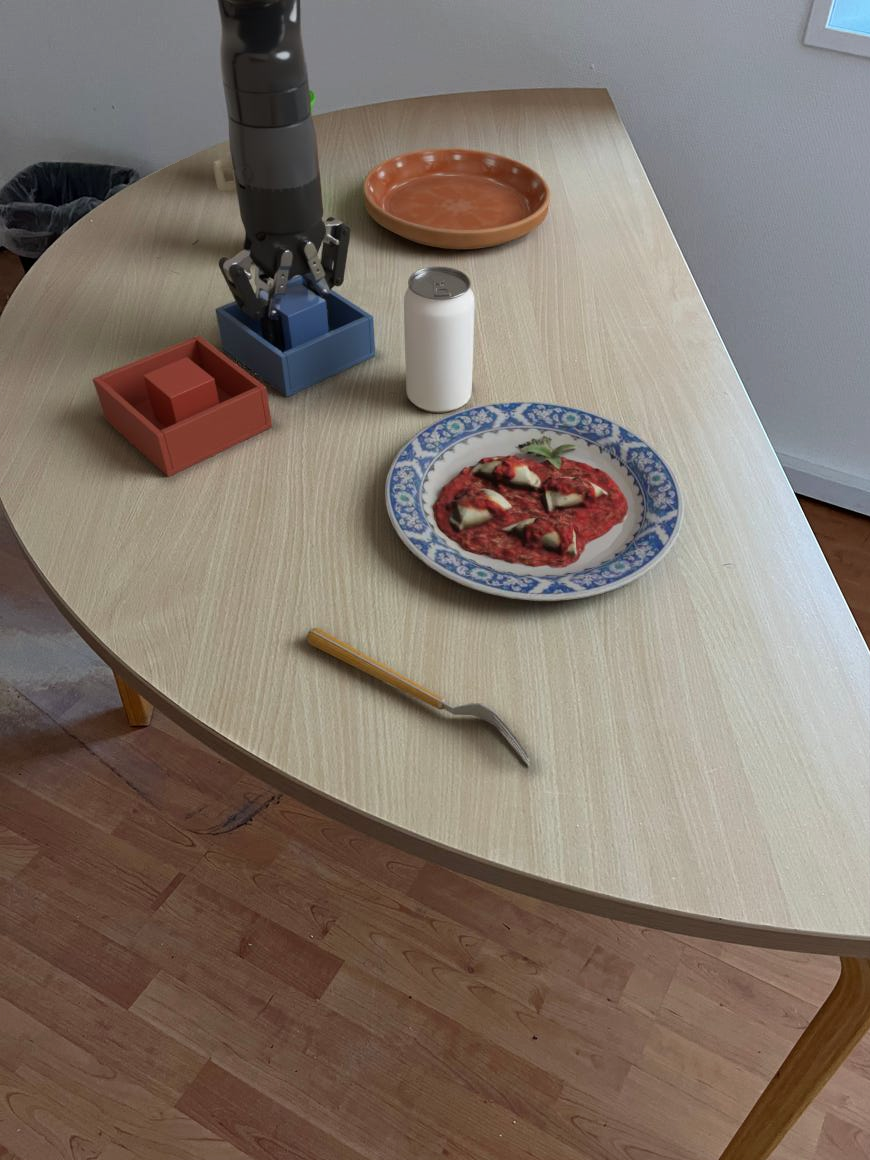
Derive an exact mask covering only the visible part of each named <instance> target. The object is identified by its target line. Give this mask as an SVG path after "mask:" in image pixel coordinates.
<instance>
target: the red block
mask: <svg viewBox="0 0 870 1160" xmlns="http://www.w3.org/2000/svg"><path fill="white" fill-rule="evenodd" d="M143 376H144V380H145V384H146V388H147V391H148V395H149V399H150V403H151V406H152V410H153V414H154V417H155V418H156V419H157V420H158V421H160V422H161V423H162V424H163V425H164V426H165V427H169V426H171V425H173V424H176V423H178V422H180V421H182V420H185V419H187V418H189V417H191V416H193V415H196V414H198V413H200V412H202V411H204V410H207V409H209V408H211V407H213V406H215V405H218V404H219V400H218V395H217V390H216V385H215V380H214V378H213V377H211V376H210V375H209V374H208V373H206V372H205V371H204V370H203V369H201V368H200V367H199V366H198V365H196V364H195V363H194V362H192V361H191V360H190V359H189V358H187V357H186V358H183V359H181V360H179V361H176V362H174V363H172V364H169V365H167V366H164V367H162V368H160V369H157V370H155V371H152V372H150V373H148V374H145V375H143Z"/></svg>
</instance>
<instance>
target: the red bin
mask: <svg viewBox="0 0 870 1160" xmlns="http://www.w3.org/2000/svg"><path fill="white" fill-rule="evenodd" d="M186 357H187V358H189V359H190V360H191V361H192V362H194V363H195V364H196V365H198V366H199V367H200V368H201V369H203V370H204V371H205V372H206V373H208V374H209V375H210V376H211V377H213V378H214V380H215V385H216V390H217V395H218V400H219V404H218V405H215V406H213V407H211V408H209V409H207V410H204V411H202V412H200V413H198V414H196V415H193V416H191V417H189V418H187V419H185V420H182V421H180V422H178V423H176V424H173V425H171V426H169V427H165V426H164V425H163V424H162V423H161V422H160V421H158V420H157V419H156V418H155V417H154V414H153V410H152V406H151V403H150V399H149V395H148V391H147V388H146V384H145V380H144V376H143V375H145V374H148V373H150V372H152V371H155V370H157V369H160V368H162V367H164V366H167V365H169V364H172V363H174V362H176V361H179V360H181V359H183V358H186ZM92 381H93V385H94V388H95V392H96V394H97V398H98V401H99V404H100V407H101V410H102V414H103V416H104V417H103V418H104V419H105V421H106V422H107V423H109V424H110V426H112V427H113V428H114V429H115V430H116V431H118V432H119V434H121V435H122V436H123V437H124V438H125V439H126V440H127V441H128V442H129V443H131V444H132V445H133V446H134V447H135V448H136V449H137V450H138V451H139V452H140V453H141V454H142V455H144V456H145V457H146V458H147V459H148V460H149V461H150V462H151V463H153V465H155V466H156V467H157V468H158V469H159V470H160V471H161V472H163V474H164V475H166V476H167V477H168V478H170V477H173V476H174V475H175V474H178V473H180V472H182V471H185V470H186V469H188V468H191V467H193V466H194V465H197V464H199V463H201V462H203V461H206V460H207V459H209V458H211V457H213V456H215V455H217V454H220V453H222V452H223V451H226V450H228V449H230V448H232V447H234V446H236V445H239V444H240V443H242V442H245V441H246V440H248V439H250V438H253V437H255V436H257V435H259V434H262V433H263V432H265V431H267V430H269V429H271V428H273V423H272V417H271V411H270V404H269V398H268V391H267V387H266V385H264V384H263V383H261V382H260V381H259V380H258V379H256V378H255V377H254V376H253V375H251V374H250V373H249V372H247V371H246V370H245V369H243V368H242V367H241V366H239V365H238V364H237V363H235V362H234V361H233V360H231V359H230V358H229V357H227V355H225V354H224V353H222V352H221V351H220V350H218V349H217V348H216V347H215V346H213V345H212V344H210V343H209V342H208V341H207V340H205V339H204V338H203V337H201V336H200V335H195V336H193V337H190V338H188V339H186V340H183V341H181V342H178V343H176V344H174V345H171V346H169V347H166V348H163V349H161V350H159V351H157V352H155V353H152V354H149V355H147V356H145V357H141V358H140V359H137V360H134V361H132V362H130V363H127V364H125V365H122V366H120V367H117V368H115V369H112V370H110V371H108V372H106V373H105V372H104V373H103V374H100V375H98V376H95V377H93V378H92Z"/></svg>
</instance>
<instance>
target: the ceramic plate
mask: <svg viewBox="0 0 870 1160" xmlns="http://www.w3.org/2000/svg"><path fill="white" fill-rule="evenodd" d="M384 487H385V488H384V497H385V499H384V500H385V506H386V511H387V514H388V517H389V519H390V522H391V525H392V527H393V529H394V531H395V532H396V534H397V536H398V538H400V539H401V541H402V542H403V544H404V545H405V546H406V548H408V550H410V551H411V553H412V554H413V555H414V556H415V557H416V558H418V559H419V560H420V561H422V562H423V563H424V564H425V565H426V566H427V567H429V568H431V569H432V570H434V571H436V572H437V573H439V574H440V575H442V576H443V577H445V578H447V579H449V580H452V581H453V582H455V583H458V584H460V585H462V586H464V587H467V588H469V589H472V590H476V591H479V592H482V593H485V594H490V595H494V596H499V597H502V598H508V599H513V600H522V601H523V600H525V601H535V602H556V601H570V600H578V599H584V598H589V597H593V596H597V595H601V594H604V593H608V592H611V591H614V590H616V589H618V588H621V587H623V586H625V585H628V584H630V583H632V582H633V581H635V580H638V579H639V578H641V577H642V576H644V575H646V574H647V573H649V572H650V571H651V570H652V569H653V568H655V566H657V565H658V564H660V562H661V561H662V560H663V559H664V558H665V557H666V556H667V554H669V552H670V550H671V549H672V548H673V546H674V544H675V543H676V541H677V539H678V537H679V536H680V535H679V534H680V532H681V529H682V526H683V521H684V516H685V503H684V502H685V501H684V494H683V490H682V487H681V484H680V482H679V480H678V477H677V475H676V473H675V472H674V469H673V468H672V466H671V465H670V463H669V462H668V461H667V459H666V458H664V457H663V455H662V454H661V453H660V451H658V449H656V448H655V447H654V446H653V445H652V444H651V443H650V442H649V441H648V440H646V439H645V438H643V437H642V436H640V435H639V434H637V433H636V432H634V431H633V430H632V429H630V428H628V427H626V426H624V425H622V424H621V423H619V422H617V421H615V420H613V419H610V418H608V417H605V416H603V415H600V414H598V413H595V412H591V411H589V410H586V409H583V408H579V407H573V406H568V405H563V404H557V403H553V402H552V403H551V402H542V401H529V400H528V401H507V402H504V401H503V402H495V403H494V402H493V403H488V404H483V405H479V406H474V407H470V408H467V409H466V408H465V409H463V410H460V411H457V412H454V413H451V414H449V415H446V416H444V417H442V418H440V419H437V420H436V421H434V422H432V423H431V424H429V425H427V426H426V427H424V428H423V429H421V430H420V431H419V432H418V433H416V434H415V435H414V436H412V437H411V438H410V439H409V440H408V441H407V442H406V443H405V445H403V446H402V447H401V448H400V450H399V451H398V452H397V454H396V456H395V457H394V459H393V461H392V463H391V465H390V467H389V470H388V472H387V476H386V480H385V485H384Z"/></svg>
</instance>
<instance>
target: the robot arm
mask: <svg viewBox="0 0 870 1160" xmlns="http://www.w3.org/2000/svg"><path fill="white" fill-rule="evenodd" d="M217 5H218V11H219V17H220V26H221V36H220V46H219V60H220V61H219V62H220V63H219V64H220V73H221V79H222V85H223V92H224V98H225V105H226V111H227V120H228V121H227V122H228V140H229V144H230V151H231V157H232V164H233V170H234V177H235V183H236V189H237V194H236V197H237V202H238V207H239V208H238V209H239V215H240V220H241V223H242V225H243V228H244V234H245V235H244V239H243V243H242V250H241V251H240V252H239V253H237V254H236V255H235V256H233V257H232V258H229V257H228V256H222V257H221V258H220V259H219V260H218V267H219V270H220V272H221V274H222V276H223V279H224V280H225V282H226V284H227V287H228V289H229V291H230V293H231V295H232V297H233V299H234V301H236V303H237V305H238V307H239V309H240V310H242V311H243V312H245V313H247V314H248V315H249V316H251V318H253V319H254V320H256V321H257V320H260V323H261V329H262V336H263V339H264V340H266V341H267V342H269V343H270V344H271V345H273V346H274V347H275V348H277V349H278V350H280V351H281V350H283V349H285V341H284V334H283V327H282V319H281V317H280V316H279V312H280V305H281V298H282V297H283V296H285V294H286V287H287V281H289V280H290V279H292V278H294V277H297V276H299V275H301V277H302V279H303V281H304V283H305V285H306V287H307V288H308V289H309V290H311V291H312V292H314V293H315V294H317V295H318V296H320V297H321V298H323V299H324V300H326V308H327V318H328V324H329V319H330V317H329V306H328V296H329V294H330V290H331V289H332V290H333V288H334V287H341V286H342V284H343V283H344V279H345V274H346V273H345V272H346V266H347V259H348V253H349V252H348V251H349V245H350V237H351V227H350V226H349V225H347V224H346V223H345V222H342V221H341V220H339V219H338V218H335V217H334V216H329V217H327V219H326V220H325V221H324V220H323V216H324V205H323V194H322V182H321V172H320V162H319V161H320V160H319V149H318V139H317V134H316V129H315V125H314V119H313V113H312V114H311V104H310V94H309V90H310V84H309V73H308V66H307V60H306V54H305V47H304V42H303V35H302V12H301V9H302V8H301V0H217ZM321 247H322V248H321ZM320 249H321V254H320V255H321V257H320V258H319V256H318V253H319V251H320ZM252 264H254V265H255V272H254V280H253V281H254V285H255V286H256V288H255V291H256V292H255V291H254V288H253V285H252V283H251V282H250V280H251V279H252V278H253V275H252V272H251V265H252ZM255 293H256V295H255Z"/></svg>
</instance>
